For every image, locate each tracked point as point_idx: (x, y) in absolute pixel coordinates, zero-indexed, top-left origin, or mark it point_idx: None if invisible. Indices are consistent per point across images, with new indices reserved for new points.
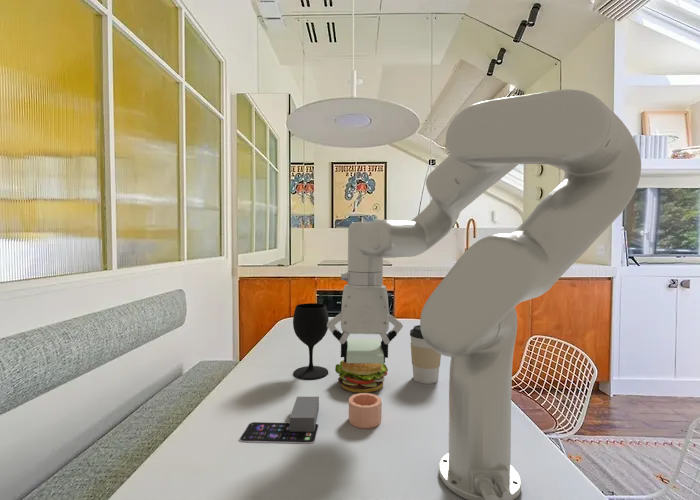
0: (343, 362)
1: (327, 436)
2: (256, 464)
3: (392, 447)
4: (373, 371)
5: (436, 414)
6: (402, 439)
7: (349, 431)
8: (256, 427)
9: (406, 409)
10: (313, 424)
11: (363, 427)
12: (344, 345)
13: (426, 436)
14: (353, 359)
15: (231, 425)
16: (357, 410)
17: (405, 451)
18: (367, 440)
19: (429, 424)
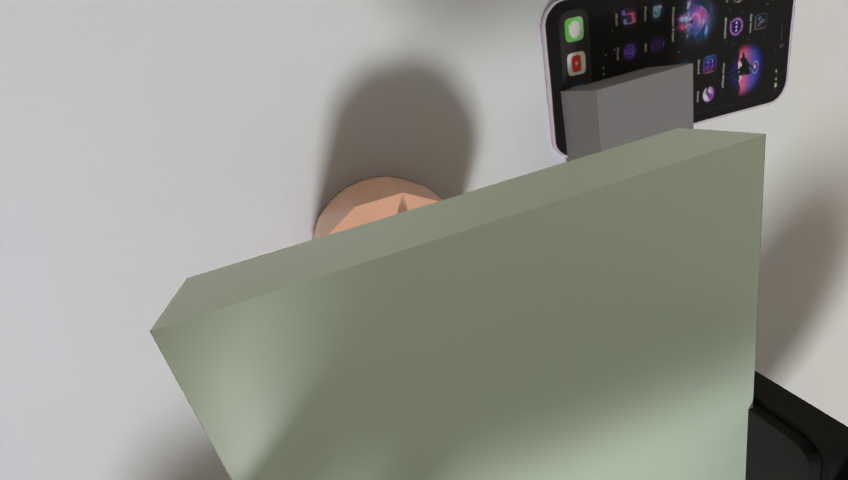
0: None
1: (502, 75)
2: None
3: (201, 54)
4: None
5: (71, 408)
6: (173, 138)
7: (425, 140)
8: (759, 65)
9: None
10: (580, 89)
11: (374, 178)
12: (836, 426)
13: (60, 198)
14: (634, 155)
15: (833, 62)
16: (418, 192)
17: (126, 33)
18: (331, 86)
19: (78, 309)
